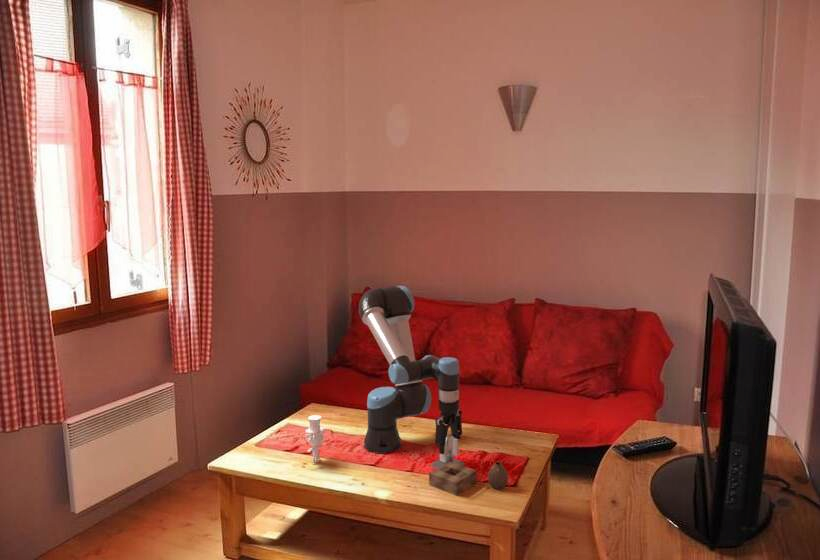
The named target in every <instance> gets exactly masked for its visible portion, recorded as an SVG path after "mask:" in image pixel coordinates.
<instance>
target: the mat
mask: <svg viewBox="0 0 820 560" xmlns="http://www.w3.org/2000/svg"><path fill="white" fill-rule="evenodd" d="M453 463H456V464H459V465H462V466H465V464H467V462H464V461H460V460H458V459H454V458H453ZM444 464H445V462H442V461H440V458H439V459H437V460H436V461H434V462H432V463H430V464H429V466H431V467H433V468H435V469H437V468H439V467H440V466H442V465H444Z"/></svg>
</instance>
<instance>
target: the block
mask: <svg viewBox="0 0 820 560" xmlns="http://www.w3.org/2000/svg"><path fill="white" fill-rule="evenodd" d="M477 473H478V471H477V469H473V468H470V467H467V466H465V465H459V464H456V463H453V462H450V461H449V462H447V463H446V464H444V465H442V466H440V467H439V468H435V469H434V470H432V471H430V472H429V473H428V475H429V476H428V481H429V482H428V483H429V487H433V488H435V489H438V490H441V491H443V492H446V493H448V494H451V495H454V496H456V497H457V496H459V495H460V494H462V493H464V492H465V491H466V490H467V489H470V488H471V487H472V486H475V485H476V484H477V481H478V478H477V477H478V475H477Z"/></svg>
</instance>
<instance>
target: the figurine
mask: <svg viewBox="0 0 820 560" xmlns="http://www.w3.org/2000/svg"><path fill="white" fill-rule="evenodd" d="M307 419H308V421H309V428H306V429H305V433H306V434H305V435H304V434H303V435H304V437H305V438H304V440H307V444H309V445H311V446H312V447H310V448H308V449H307V451H306V452H307V453H311V452H312V462H311V463H312V464H315V463H317V462H319V459H321V456H320V449H319V446H321V445H323V444H324V437H323V436H324V435H323V434H325V433H326V431H325V430H326V428H324V427H323V425H321V424H320V423H321V420H322V416H321V415H319V414H312V415H309V416H308V417H307Z"/></svg>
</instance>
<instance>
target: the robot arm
mask: <svg viewBox="0 0 820 560" xmlns="http://www.w3.org/2000/svg"><path fill="white" fill-rule="evenodd" d="M414 309H415V298H414V296H413V293H412V291H411V290H410V289H409V288H408V286H407V287H406V286H404V285H394V286H386V287H376V288H371V289H369V290H367V291H365V292H364V293H363V295H362V296H361V298H360V299H359V303H358V314H359V317H360V319H361V321H362V323H363V324H365V325H366V326H368V329H369V331H370V332H371V333H372V336H373V337H374V339H375V341H376V342H377V344H378V346H379V349H380V350H381V352H382V353H383V356H384V357H385V358H386V360H387V362H388V364H389V366H388V367H389V368H388V377H389V380H390V383H392V384H394V387H393V386H381V387H376V388H374V389H373V390H371V391H370V392H369V393H368V395H367V402H366V407H367V430H366V433H365V437H364V439H363V440H364V441H363V447H364V449H365V450H366V449H367V450H366V451H368V450H369V451H368V452H370V451H371V452H370V453H373V452H378V453H377V454H388V453H387V452H390V453H394V452H396V451H398V450H400V449H401V448H402V439H401V436H400V433H399V430H398V425H397V424H398V421H397V420H399V419H405V418H409V417H414V416H419V415H422V414H425V413H426V412H428V411H429V409H430V407H431V403H432V394H431V390H430V388H429V386H428V385H426V384H424V381H423V380H428V379H435V380H436V381H438V410H439V411H440V417H439V418H436V419H435V421H434V423H435V437H434V438H435V439H434V441H435V442H434V444H435V445H436V446H438V453H439V459H440V461H442V462H445V463H446V462H447V445H445V443H446V438H447V434H448V432H449V429H450V431H451V434H452V435H453V456H456V457H458V456H459V440H461V439H462V435H463V427H462V426H463V424H462V421H463V420H462V415H463V411H462V410H460V400H459V399H460V391H459V390H460V365H459V364H460V363H459V360H458V359H457V358H455V357H451V356H450V357H449V356H446V357H441V358H439V357H437V356H434V355H432V354H431V355H430V354H429V355H425V356H424V357H423V358H421V359H419V360H416V357H415V351H414V345H413V339H412V334H411V328H410V323H409V320H410V318H411V317H412V312H413V311H414ZM393 451H394V452H393ZM385 452H386V453H385Z"/></svg>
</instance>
